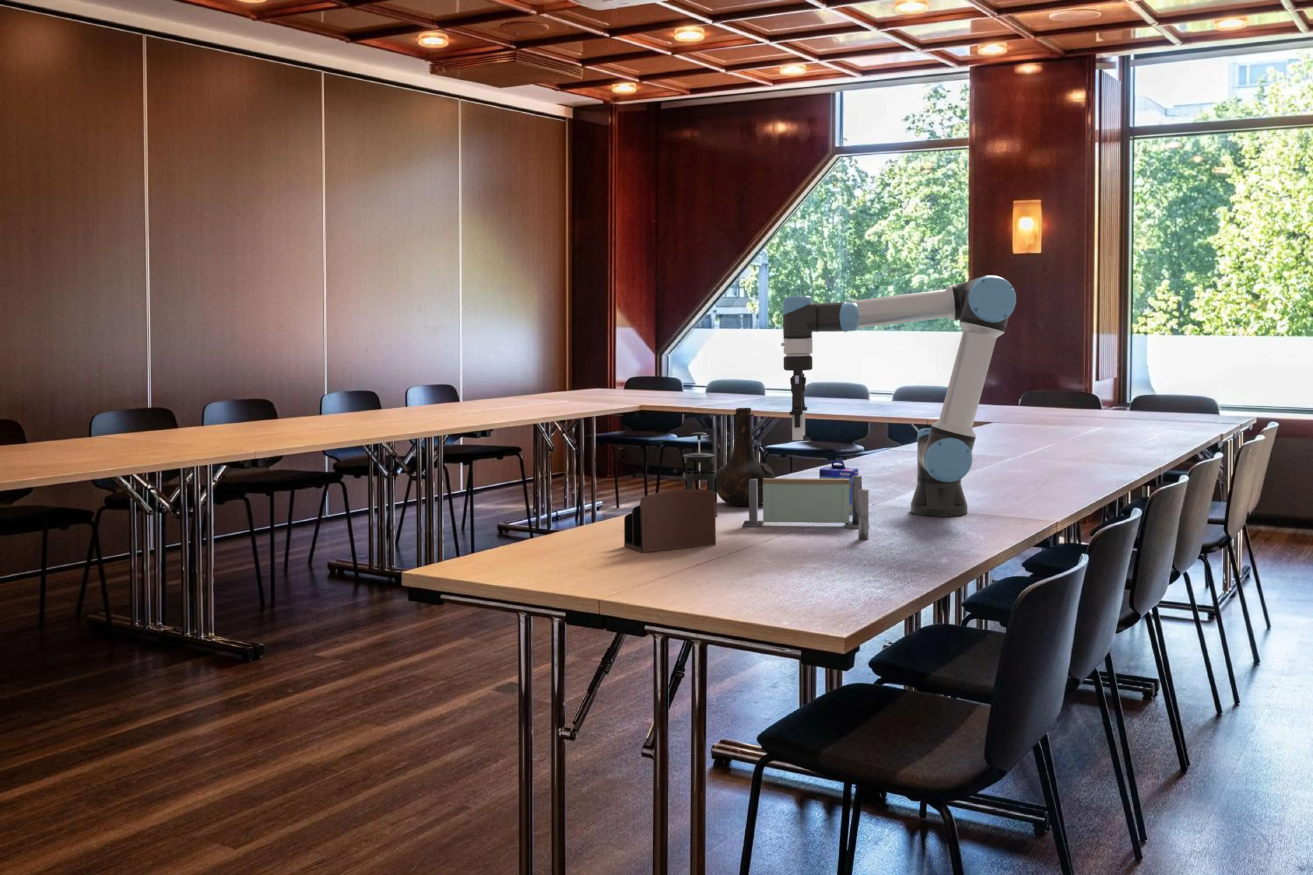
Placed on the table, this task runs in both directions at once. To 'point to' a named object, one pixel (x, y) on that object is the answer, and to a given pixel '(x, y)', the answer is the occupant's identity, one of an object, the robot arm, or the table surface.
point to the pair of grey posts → (857, 522)
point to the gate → (806, 500)
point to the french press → (701, 475)
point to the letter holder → (671, 521)
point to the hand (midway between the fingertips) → (798, 437)
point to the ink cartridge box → (839, 476)
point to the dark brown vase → (742, 465)
